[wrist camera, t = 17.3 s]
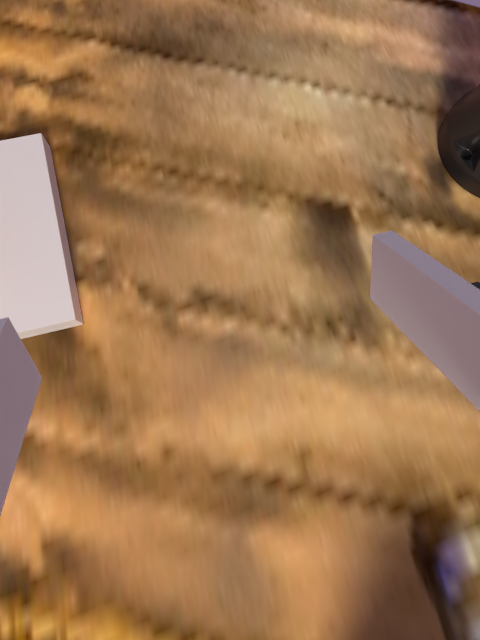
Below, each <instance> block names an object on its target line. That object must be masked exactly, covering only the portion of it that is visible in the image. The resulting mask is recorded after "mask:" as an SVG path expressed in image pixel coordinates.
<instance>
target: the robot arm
mask: <svg viewBox="0 0 480 640" xmlns="http://www.w3.org/2000/svg"><path fill="white" fill-rule="evenodd" d="M438 142H439V151H440V155H441V158H442V161H443V163H444V165H445V167H446V169H447V170H448V172H449V173H450V175H451V176H452V177H453V179H454V180H455V181H456V182H457V183H458V184H459V185H460V186H462V187H463V188H464V189H465V190H467V191H468V192H470V193H471V194H473V195H475V196H477V197H479V198H480V85H479V86H477V87H476V88H474V89H473V90H471V91H469V92H468V93H466V94H465V95H464V96H463V97H462V98H461V99H459V101H458V102H457V103H456V104H455V105H454V107H453V108H452V109H451V110H450V112H449V113H448V114H447V115H446V117H445V118H444V120H443V122H442V125H441V127H440V131H439V139H438ZM370 299H371V300H372V301H373V302H374V303H375V304H376V305H377V306H378V307H379V308H380V309H381V310H382V311H383V312H384V313H385V314H386V315H387V316H388V318H389V319H390V320H391V321H392V322H393V323H394V324H395V325H396V326H397V327H398V328H399V329H400V330H401V331H402V332H403V333H404V334H405V335H406V336H407V337H408V338H409V339H410V340H411V341H412V342H413V343H414V344H415V345H416V346H417V347H418V348H419V349H420V351H421V352H422V353H423V354H424V355H425V356H426V357H427V358H428V359H429V360H430V361H431V362H432V363H433V364H434V365H435V366H436V367H437V368H438V369H439V370H440V371H441V372H442V373H443V374H444V375H445V376H446V377H447V378H448V379H449V380H450V381H451V382H452V384H453V385H454V386H455V387H456V388H457V389H458V390H459V391H460V392H461V393H462V394H463V395H464V396H465V397H466V398H467V399H468V400H469V401H470V402H471V403H472V404H473V405H474V406H475V407H476V408H477V409H478V410H479V411H480V283H479V282H475V283H469V282H468V281H466V280H465V279H463V278H462V277H460V276H459V275H457V274H456V273H454V272H453V271H451V270H450V269H448V268H447V267H445V266H444V265H443V264H441V263H440V262H438V261H437V260H435V259H434V258H432V257H431V256H429V255H428V254H426V253H425V252H423V251H422V250H420V249H419V248H417V247H416V246H414V245H413V244H411V243H410V242H408V241H407V240H405V239H404V238H402V237H401V236H399V235H398V234H397V233H395V232H394V231H389V232H384V233H380V234H375V235H373V244H372V266H371V288H370ZM41 380H42V376H41V375H40V373H39V371H38V369H37V367H36V366H35V364H34V362H33V360H32V358H31V357H30V355H29V353H28V351H27V350H26V348H25V346H24V344H23V342H22V341H21V339H20V337H19V335H18V333H17V332H16V330H15V328H14V326H13V324H12V323H11V321H10V319H9V317H7V318H3V319H0V515H1V512H2V508H3V505H4V502H5V498H6V495H7V492H8V489H9V485H10V482H11V479H12V475H13V472H14V469H15V465H16V462H17V459H18V456H19V452H20V449H21V446H22V442H23V439H24V436H25V432H26V429H27V426H28V422H29V419H30V416H31V413H32V409H33V406H34V403H35V399H36V396H37V393H38V389H39V386H40V383H41Z"/></svg>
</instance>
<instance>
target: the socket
mask: <svg viewBox="0 0 480 640" xmlns="http://www.w3.org/2000/svg"><path fill="white" fill-rule="evenodd" d="M7 317H9V319H10V321H11V323H12V324H13V326H14V328H15V330H16V332H17V333H18V335H19V337H20V339H23V338H27V337H32V336H36V335H40V334H44V333H49V332H53V331H57V330H61V329H66V328H70V327H74V326H78V325H83V319H82V314H81V309H80V303H79V298H78V293H77V287H76V282H75V277H74V271H73V266H72V261H71V255H70V250H69V245H68V239H67V234H66V229H65V223H64V218H63V213H62V207H61V202H60V197H59V191H58V186H57V181H56V175H55V170H54V165H53V159H52V154H51V149H50V146H49V144H48V143H47V141H46V140H45V138H44V137H43V135H42V134H41V133H39V134H34V135H28V136H23V137H18V138H12V139H7V140H2V141H0V319H3V318H7Z"/></svg>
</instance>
